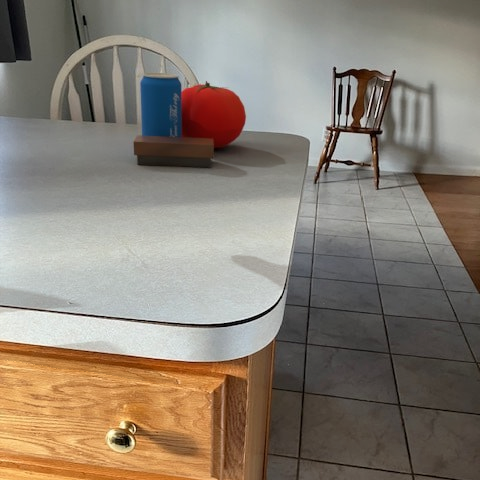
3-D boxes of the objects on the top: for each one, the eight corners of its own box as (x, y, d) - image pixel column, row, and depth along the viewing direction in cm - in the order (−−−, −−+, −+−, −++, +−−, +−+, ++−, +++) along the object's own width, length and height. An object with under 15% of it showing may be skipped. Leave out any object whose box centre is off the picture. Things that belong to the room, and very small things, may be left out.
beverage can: (159, 158, 87) (158, 77, 81) (134, 151, 91) (131, 73, 85) (189, 153, 91) (189, 76, 85) (164, 147, 95) (163, 72, 89)
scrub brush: (134, 165, 82) (133, 141, 81) (137, 157, 87) (137, 135, 85) (213, 168, 83) (213, 144, 82) (212, 160, 88) (213, 138, 86)
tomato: (168, 139, 101) (168, 77, 96) (232, 139, 104) (235, 79, 99) (182, 155, 90) (182, 86, 84) (253, 155, 93) (257, 88, 88)
